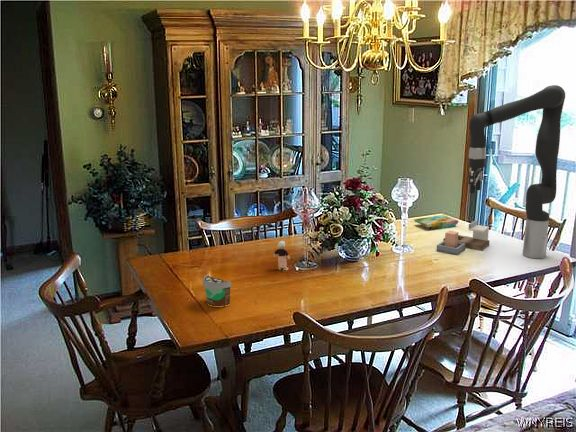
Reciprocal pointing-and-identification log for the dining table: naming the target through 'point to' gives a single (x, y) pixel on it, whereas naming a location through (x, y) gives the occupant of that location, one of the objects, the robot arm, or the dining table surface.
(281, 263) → the grandmother figurine
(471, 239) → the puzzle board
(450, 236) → the block
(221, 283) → the food container
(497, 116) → the robot arm
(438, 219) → the puzzle game
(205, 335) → the dining table surface
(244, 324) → the dining table surface
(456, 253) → the tray
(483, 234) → the light grey blocky form
